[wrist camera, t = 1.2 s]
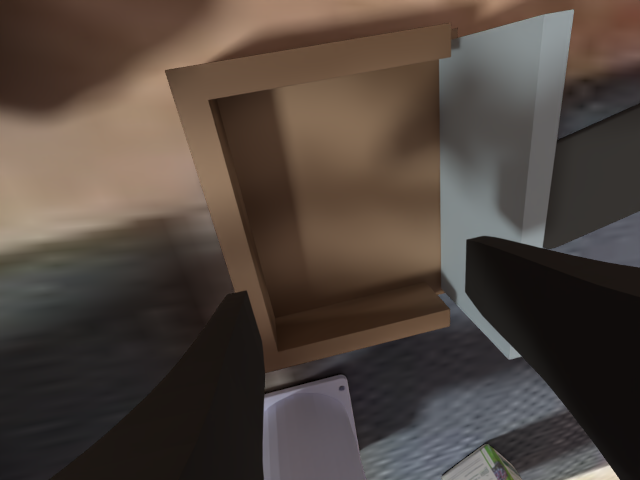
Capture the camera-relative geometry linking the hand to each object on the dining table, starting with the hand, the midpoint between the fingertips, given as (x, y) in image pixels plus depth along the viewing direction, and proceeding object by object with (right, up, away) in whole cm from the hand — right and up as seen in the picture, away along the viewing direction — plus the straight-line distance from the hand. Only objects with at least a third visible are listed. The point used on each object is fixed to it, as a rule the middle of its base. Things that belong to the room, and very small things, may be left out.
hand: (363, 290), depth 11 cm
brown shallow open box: (0, +4, +9) cm, 10 cm away
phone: (+19, +7, +12) cm, 23 cm away
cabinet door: (+6, +5, +8) cm, 12 cm away
